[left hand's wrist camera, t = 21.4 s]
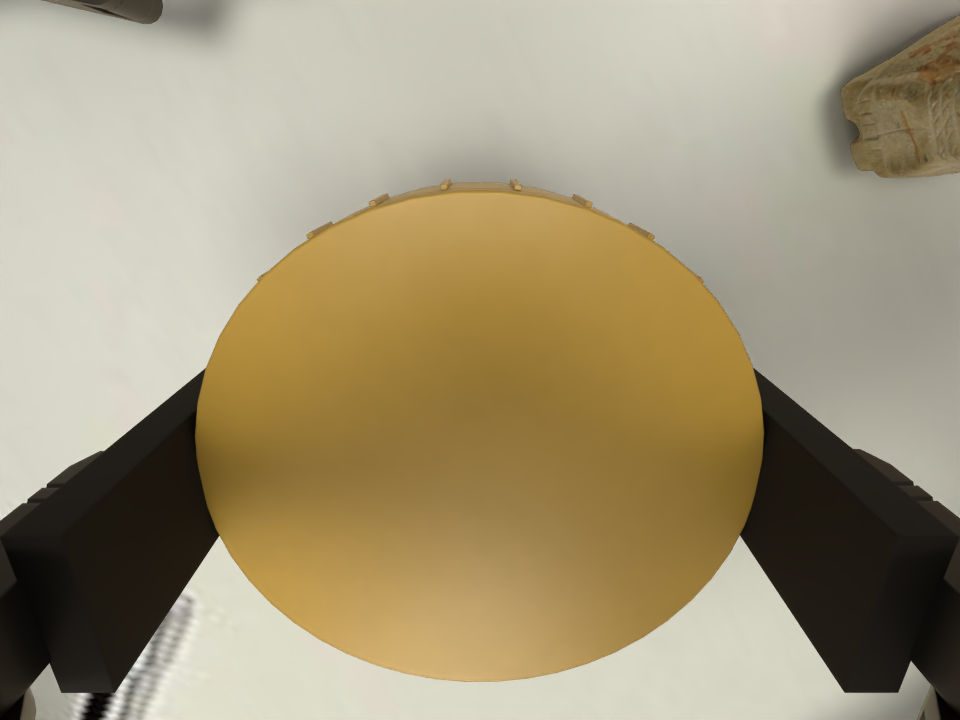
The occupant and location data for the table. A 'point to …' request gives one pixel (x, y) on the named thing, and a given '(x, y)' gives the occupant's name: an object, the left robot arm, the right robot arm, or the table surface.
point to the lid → (479, 433)
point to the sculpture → (909, 109)
